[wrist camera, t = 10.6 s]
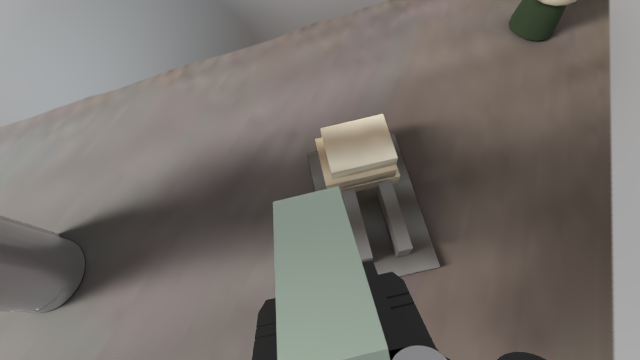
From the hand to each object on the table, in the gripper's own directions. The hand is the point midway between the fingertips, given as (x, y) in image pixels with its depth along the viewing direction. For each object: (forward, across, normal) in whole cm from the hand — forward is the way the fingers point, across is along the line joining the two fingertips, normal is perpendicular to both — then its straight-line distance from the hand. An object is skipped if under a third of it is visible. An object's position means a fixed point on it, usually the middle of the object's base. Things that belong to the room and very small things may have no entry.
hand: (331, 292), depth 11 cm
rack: (+30, -5, +13) cm, 33 cm away
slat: (+2, 0, +14) cm, 15 cm away
